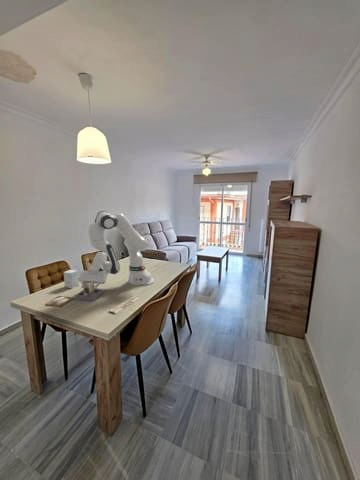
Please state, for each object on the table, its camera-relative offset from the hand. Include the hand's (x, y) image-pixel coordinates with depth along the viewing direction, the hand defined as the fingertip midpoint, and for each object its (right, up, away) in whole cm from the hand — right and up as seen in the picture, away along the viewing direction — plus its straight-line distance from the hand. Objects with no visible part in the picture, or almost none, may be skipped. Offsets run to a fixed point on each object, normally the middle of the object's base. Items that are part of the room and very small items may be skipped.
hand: (88, 288), depth 143 cm
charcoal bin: (0, -6, +1) cm, 6 cm away
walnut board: (-15, -7, -7) cm, 19 cm away
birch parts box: (0, -6, +1) cm, 6 cm away
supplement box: (-22, -3, +18) cm, 29 cm away
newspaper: (+29, -10, -10) cm, 32 cm away
